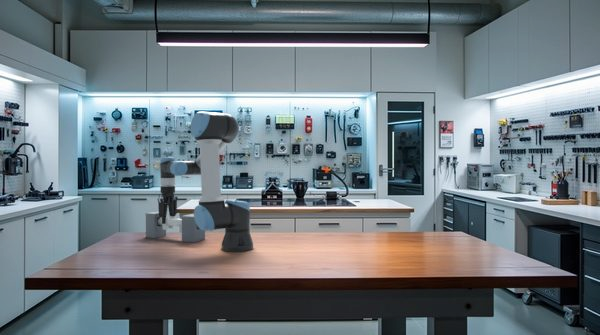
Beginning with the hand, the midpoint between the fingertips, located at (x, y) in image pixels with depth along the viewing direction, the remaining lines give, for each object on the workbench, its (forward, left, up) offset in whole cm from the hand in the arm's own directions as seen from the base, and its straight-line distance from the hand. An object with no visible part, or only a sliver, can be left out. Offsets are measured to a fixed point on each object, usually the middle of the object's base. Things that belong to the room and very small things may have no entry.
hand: (168, 228), depth 227 cm
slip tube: (-5, 0, +2) cm, 5 cm away
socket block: (+8, 0, -5) cm, 9 cm away
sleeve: (-17, 0, -5) cm, 17 cm away
